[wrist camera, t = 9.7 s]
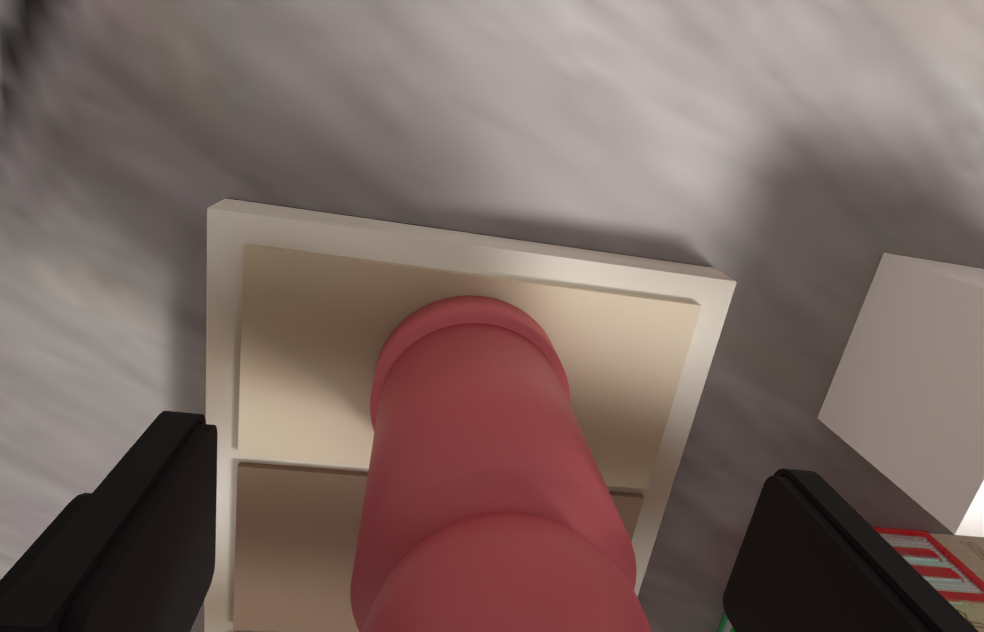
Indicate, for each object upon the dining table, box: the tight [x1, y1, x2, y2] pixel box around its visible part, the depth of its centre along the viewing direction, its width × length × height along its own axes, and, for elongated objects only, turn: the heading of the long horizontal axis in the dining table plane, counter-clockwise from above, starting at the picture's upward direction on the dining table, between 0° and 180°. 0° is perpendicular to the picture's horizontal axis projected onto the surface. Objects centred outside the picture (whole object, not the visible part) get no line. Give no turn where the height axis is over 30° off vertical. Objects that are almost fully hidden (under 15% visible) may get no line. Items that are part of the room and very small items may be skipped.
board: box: [204, 198, 737, 632], centre depth 18 cm, size 23×12×1 cm, turn 171°
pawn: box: [350, 295, 652, 632], centre depth 10 cm, size 4×4×9 cm
